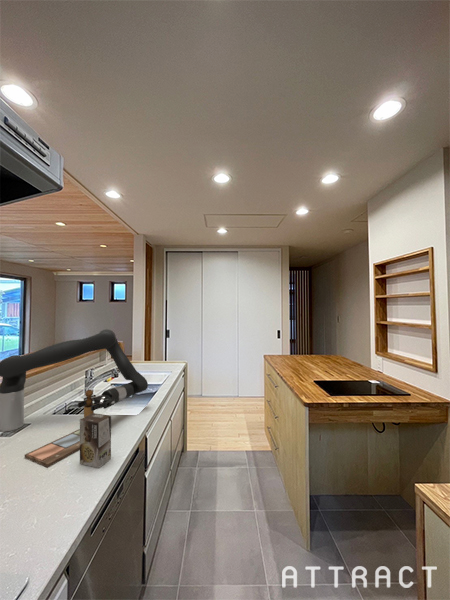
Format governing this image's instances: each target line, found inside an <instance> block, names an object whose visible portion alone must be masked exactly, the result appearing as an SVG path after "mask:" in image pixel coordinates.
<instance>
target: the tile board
mask: <svg viewBox="0 0 450 600" xmlns="http://www.w3.org/2000/svg"><path fill="white" fill-rule="evenodd" d="M77 452H80V428H78V429H76V430H75V431H72V432H70V433H67V434H65V435H63V436H62V437H60V438H57V439H55V440H53V441H50V442H49V443H46V444H45V445H42V446H40V447H38V448H36V449H33V450H32V451H30V452H27V453H26V454H24V459H26V460H28V461H32V462H34V463H36V464H38V465H40V466H43V467H45V468H50V467H52V466H53V465H55V464H57V463H59V462H60V461H63V460H64V459H66V458H68V457H70V456H71V455H74V454H75V453H77Z"/></svg>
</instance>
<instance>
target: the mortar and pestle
mask: <svg viewBox="0 0 450 600" xmlns="http://www.w3.org/2000/svg"><path fill="white" fill-rule="evenodd" d="M93 393H94V391H93V390H92V389H87V390H86V391H85V393H84V395H85V398H86V397H87V400H86V403H87V405H85V406H83V418H84V417H86V416H88V415H90V414H92V413H94V411H95V410H94V411H91V406H92V405H93V404H91V402H92V400H91V396H92V395H94V394H93Z"/></svg>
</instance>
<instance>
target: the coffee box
mask: <svg viewBox="0 0 450 600" xmlns="http://www.w3.org/2000/svg"><path fill="white" fill-rule="evenodd" d="M79 429H80V450H79V464H81V465H84V466H89V467H92V468H97V469H100V468H101V467H102V466H103V465H105V464H106V463H108V462H109V461H110V460H112V415H110V414H109V415H108V414H102V413H101V414H100V413H92V414H90V415H88V416H86V417H84V416H83V418H80V419H79Z"/></svg>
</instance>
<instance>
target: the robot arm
mask: <svg viewBox="0 0 450 600" xmlns="http://www.w3.org/2000/svg"><path fill="white" fill-rule="evenodd" d="M100 350H106V351H107V352H108V353H109V355H110V357H111V358H112V360H113V362H114V364H115V365H116V367H117V369H118V371H119V373H120V374H121V375H122V377H123V378H124V379H125V381H130V382H127V383H123V384H121V385H118V386H117V385H116V386H114V387H111V388H109V389H108V388H107V389H106V390H104V391H102V393H101V394H100V395H96V394H92V396H91V400H92V402H91V404H93V405H92V406H91V411H97V410H99V409H104V410H106V409H108V408H110V407H112V406H115V404H117V403H119V402H121V401H123V400H125V399H127V398H129V397H131V396H133V395H136V394H139V393H143V392H145V391H146V390H147V389H148V387H149V386H148V385H149V384H148V380H147V379H146V378H145V377H144V376H143V374H141V373H140V372H139V371H137V370H136V369H137V368H135V366H134V365H133V363H132V362H131V361H130V359H129V358H128V356H127V355H126V354H125V352H124V350H123V348H122V347H121V345H120V343H119V341H118V339H117V337H116V333H115V332H114V331H113V330H111V329H107V328H106V329H103V330H101V331H100V332H98V333H97V334H95V335H91V336H88V337H85V338H81V339H80V338H79V339H72V340H66V341H62V342H58V343H55V344H51V345H49V346H46V347H43V348H41V349H39V350H37V351H34V352H31V353H28V354H26V355H25V354H24V355H17V354H13V355H9V356H8V357H6V358H4V359H2V360H1V361H0V377H1V378H2V379H1V383H0V432H3V433H4V432H5V433H6V432H10V431H14V430H17V429H20V428H22V427H23V426H24V424H25V385H26V379H27V372H28V371H31V370H34V369H38V368H43V367H47V366H51V365H54V364H58V363H62V362H66V361H68V360H71V359H74V358H77V357H79V356H83V355H84V354H88V353H91V352H96V351H100ZM86 400H87V397H86V396H85V397H84V398H83V400H82V401H79V402H78V403H77V408H79V409H80V408H82V407H83V408H84V406H85V405H87V403H86Z"/></svg>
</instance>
